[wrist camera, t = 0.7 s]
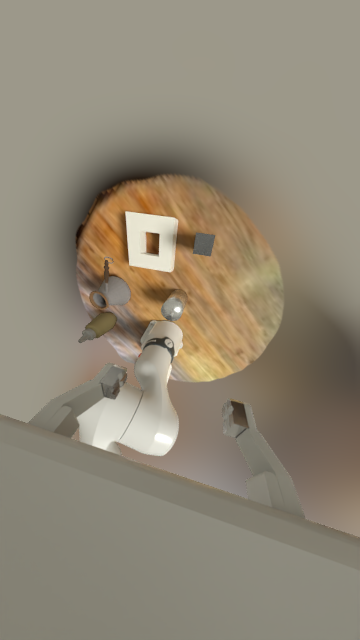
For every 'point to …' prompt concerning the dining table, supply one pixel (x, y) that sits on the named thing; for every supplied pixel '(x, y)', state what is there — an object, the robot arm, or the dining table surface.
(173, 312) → the round bit
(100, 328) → the squeeze bottle
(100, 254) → the dining table surface
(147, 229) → the socket block
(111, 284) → the coffee pot
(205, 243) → the square bit
